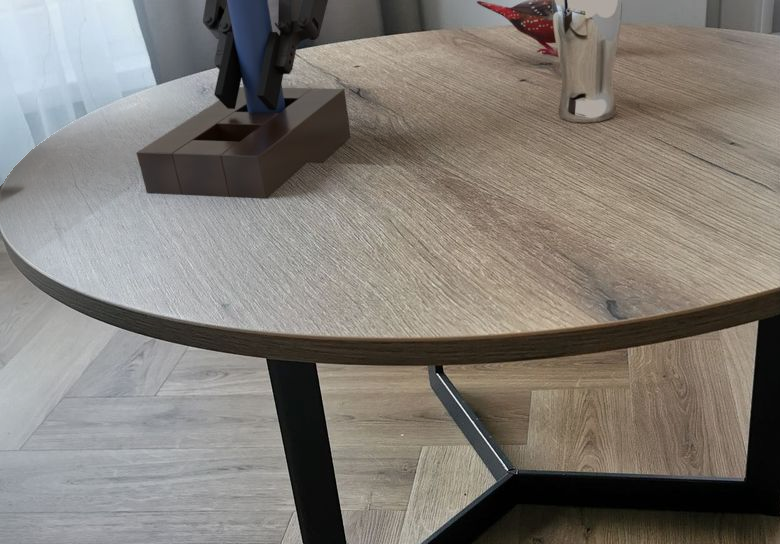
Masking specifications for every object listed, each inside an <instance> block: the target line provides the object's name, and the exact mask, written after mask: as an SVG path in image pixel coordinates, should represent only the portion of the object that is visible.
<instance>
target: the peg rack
mask: <svg viewBox="0 0 780 544" xmlns="http://www.w3.org/2000/svg"><path fill="white" fill-rule="evenodd" d="M282 89H283V95H284V101H285V107H286V108H285V109H284V110H282V111H281V112H280V113H260V112H248V109H247V104H246V98H245V93H244V88H243V86H240V87H239V92H238V97H237V102H236V106H235V109H228V108H227V107H226V106H225V105H224V104H223V103H222V102H221V101H220V100H219V99H218V100H217V101H215V103H213V104H211V105H209V106H207V107H206V108H205V109H203V110H201V111H200V112H198V113H196V114H195V115H193V116H192V117H190V118H188V119H187V120H186V121H184V122H183V123H181V124H179V125H177V126H176V127H174V128H173V129H171V130H169V131H168V132H166V133H165V134H163V135H161V136H160V137H158V138H157V139H155V140H153V141H152V142H151V143H149V144H147V145H146V146H144V147H143V148H141V149H139V150H138V151H136V157H137V160H138V164H139V169H140V172H141V176H142V180H143V184H144V187H145V191H146V194H152V195H154V194H155V195H174V196H195V197H196V196H197V197H219V198H240V199H241V198H244V199H263V200H264V199H265V200H266V199H268V198H269V197H270V196H272V195H273V194H274V193H275V192H276V191H277V190H278V189H280V188H281V186H283V185H284V184H285V183H287V181H288V180H290V179H291V178H292V177H293V176H294V175H295V174H297V173H298V172H299V171H300V170H301V169H302V168H303V167H304V166H305V165H307V164H322V163H324V162H325V161H326V160H327V159H328V158H329V157H330V156H331V155H332V154H334V153H335V151H337V150H338V149H339V148H340V147H341V146H342V145H343V144H344V143H346V142H347V141H348V140H349V139H350V138H351V137H352V136H351V135H352V134H351V128H350V122H349V121H350V120H349V115H348V107H347V100H346V98H347V97H346V92H345V88H319V87H318V88H317V87H316V88H312V87H311V88H310V87H282Z"/></svg>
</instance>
